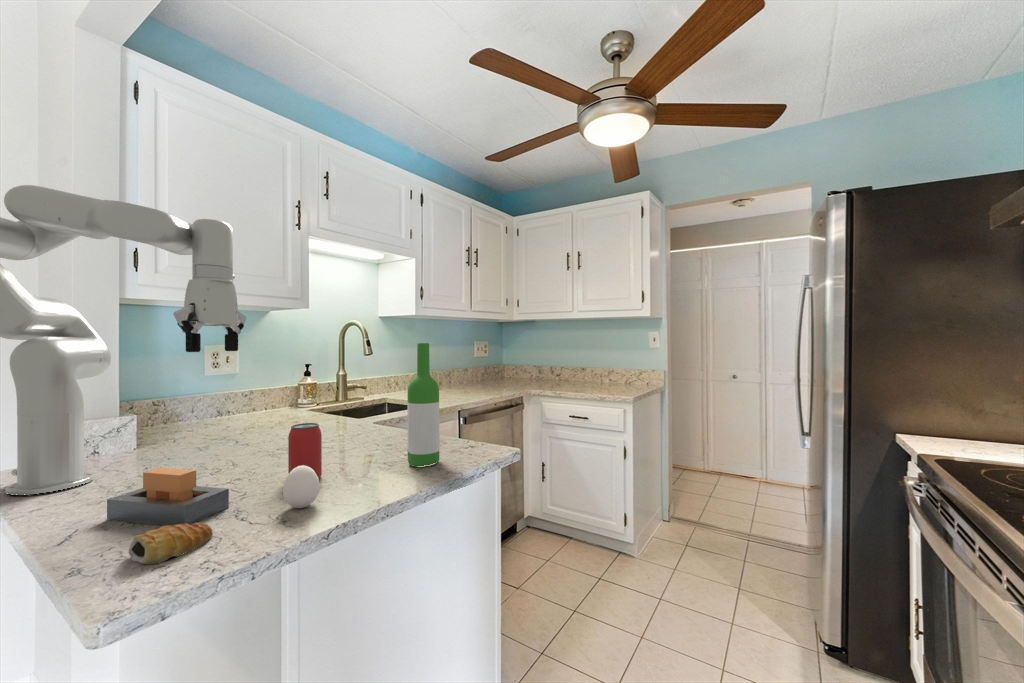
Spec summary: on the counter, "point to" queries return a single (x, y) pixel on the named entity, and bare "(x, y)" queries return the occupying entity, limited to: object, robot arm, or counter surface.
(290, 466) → the beer can
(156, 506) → the gray rectangular frame
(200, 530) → the pastry
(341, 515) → the counter surface
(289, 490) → the egg
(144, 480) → the tall orange stepped block
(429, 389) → the wine bottle
